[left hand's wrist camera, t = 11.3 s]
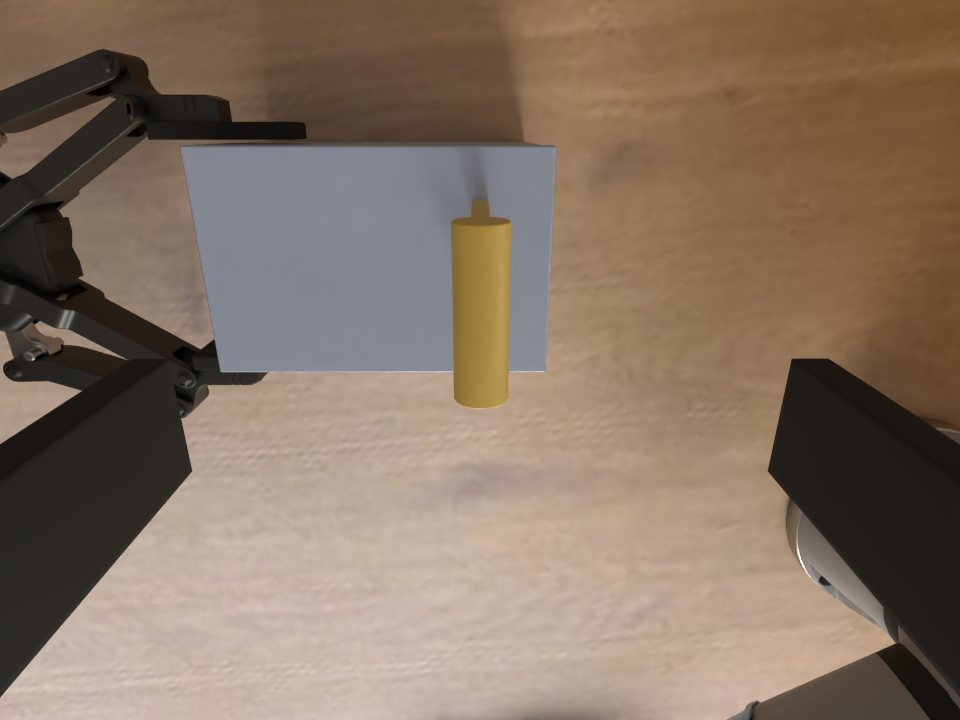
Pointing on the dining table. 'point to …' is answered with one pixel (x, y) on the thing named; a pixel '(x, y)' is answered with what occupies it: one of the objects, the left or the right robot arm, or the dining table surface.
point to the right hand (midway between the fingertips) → (311, 250)
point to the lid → (377, 258)
